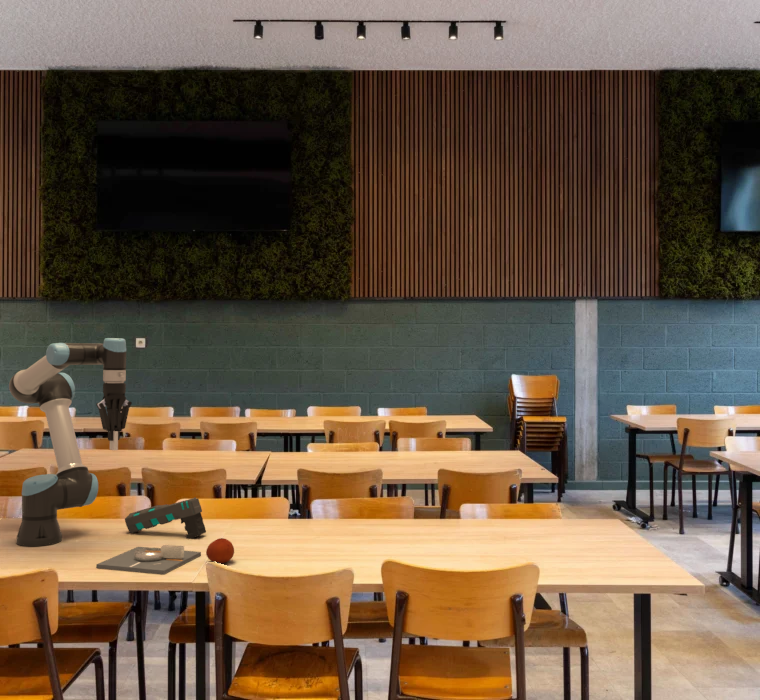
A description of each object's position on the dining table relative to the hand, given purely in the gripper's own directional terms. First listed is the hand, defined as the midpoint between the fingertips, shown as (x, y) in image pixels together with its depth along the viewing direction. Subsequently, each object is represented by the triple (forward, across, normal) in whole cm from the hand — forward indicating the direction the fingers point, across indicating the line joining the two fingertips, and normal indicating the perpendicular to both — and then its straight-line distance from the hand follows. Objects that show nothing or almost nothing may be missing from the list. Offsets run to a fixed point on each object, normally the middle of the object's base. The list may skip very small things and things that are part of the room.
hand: (113, 449), depth 284 cm
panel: (+34, -3, -25) cm, 42 cm away
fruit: (+34, +11, -43) cm, 56 cm away
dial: (+33, -1, -28) cm, 43 cm away
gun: (+35, +24, +2) cm, 42 cm away
